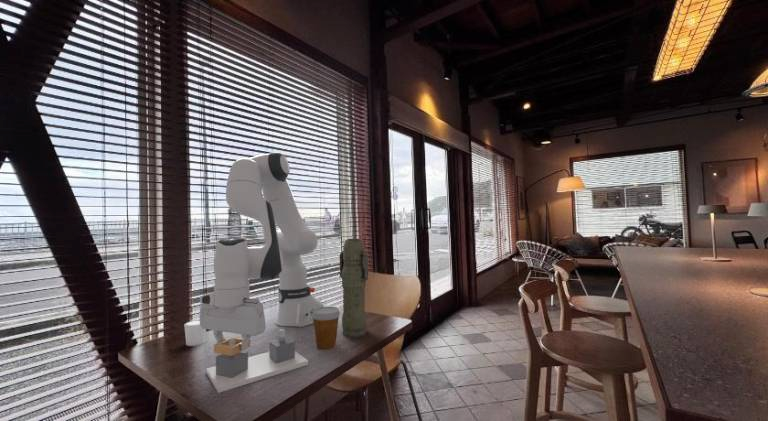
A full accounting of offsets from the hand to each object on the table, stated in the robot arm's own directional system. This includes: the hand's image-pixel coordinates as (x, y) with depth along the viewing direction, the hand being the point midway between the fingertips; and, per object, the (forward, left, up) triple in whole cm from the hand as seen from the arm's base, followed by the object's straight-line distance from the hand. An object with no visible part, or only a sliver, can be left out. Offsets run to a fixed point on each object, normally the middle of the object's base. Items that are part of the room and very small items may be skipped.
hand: (232, 347), depth 90 cm
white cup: (+3, -35, -8) cm, 36 cm away
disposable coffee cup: (-30, -2, -8) cm, 31 cm away
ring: (0, 0, 0) cm, 1 cm away
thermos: (-44, -6, -8) cm, 45 cm away
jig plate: (-7, 0, -8) cm, 10 cm away
